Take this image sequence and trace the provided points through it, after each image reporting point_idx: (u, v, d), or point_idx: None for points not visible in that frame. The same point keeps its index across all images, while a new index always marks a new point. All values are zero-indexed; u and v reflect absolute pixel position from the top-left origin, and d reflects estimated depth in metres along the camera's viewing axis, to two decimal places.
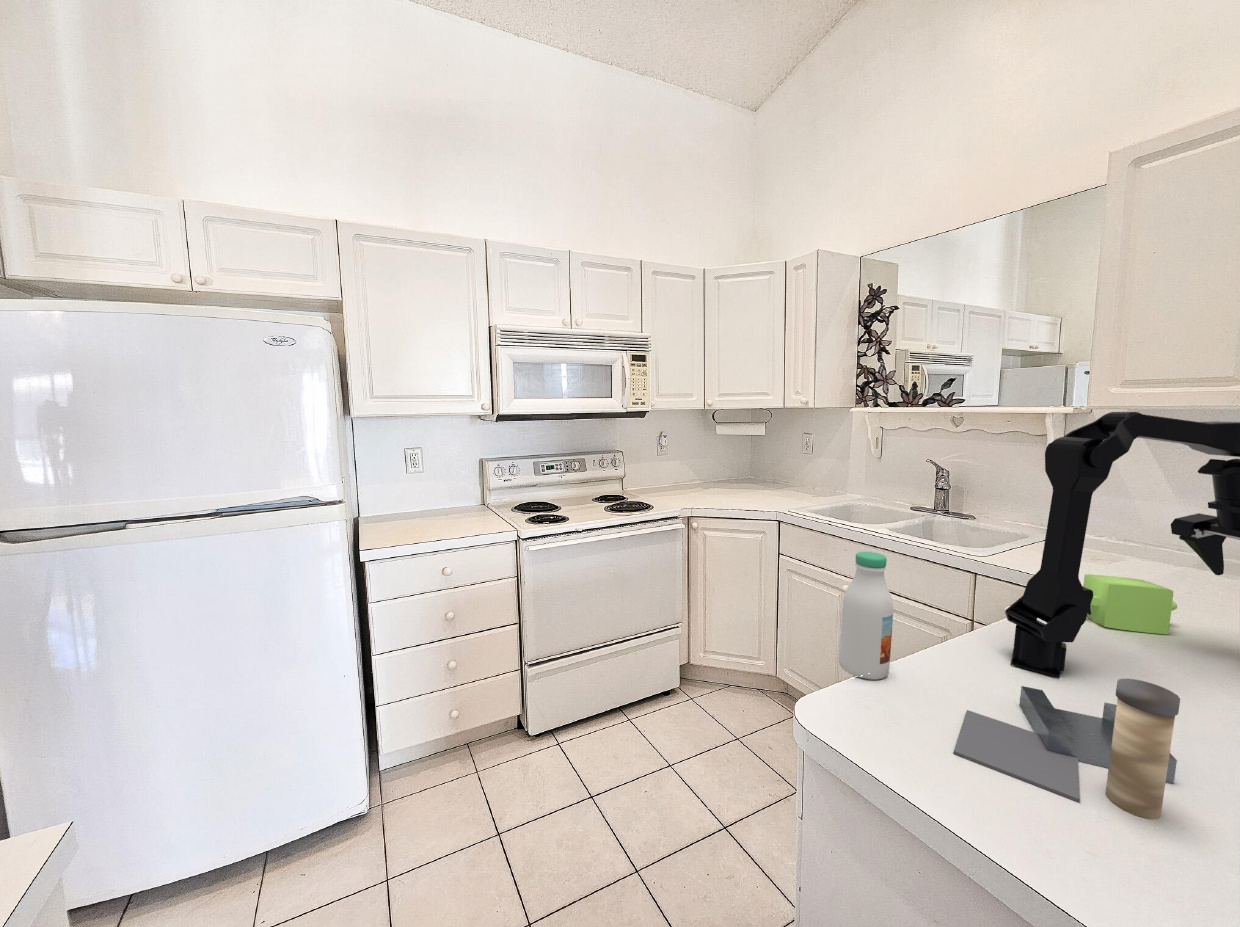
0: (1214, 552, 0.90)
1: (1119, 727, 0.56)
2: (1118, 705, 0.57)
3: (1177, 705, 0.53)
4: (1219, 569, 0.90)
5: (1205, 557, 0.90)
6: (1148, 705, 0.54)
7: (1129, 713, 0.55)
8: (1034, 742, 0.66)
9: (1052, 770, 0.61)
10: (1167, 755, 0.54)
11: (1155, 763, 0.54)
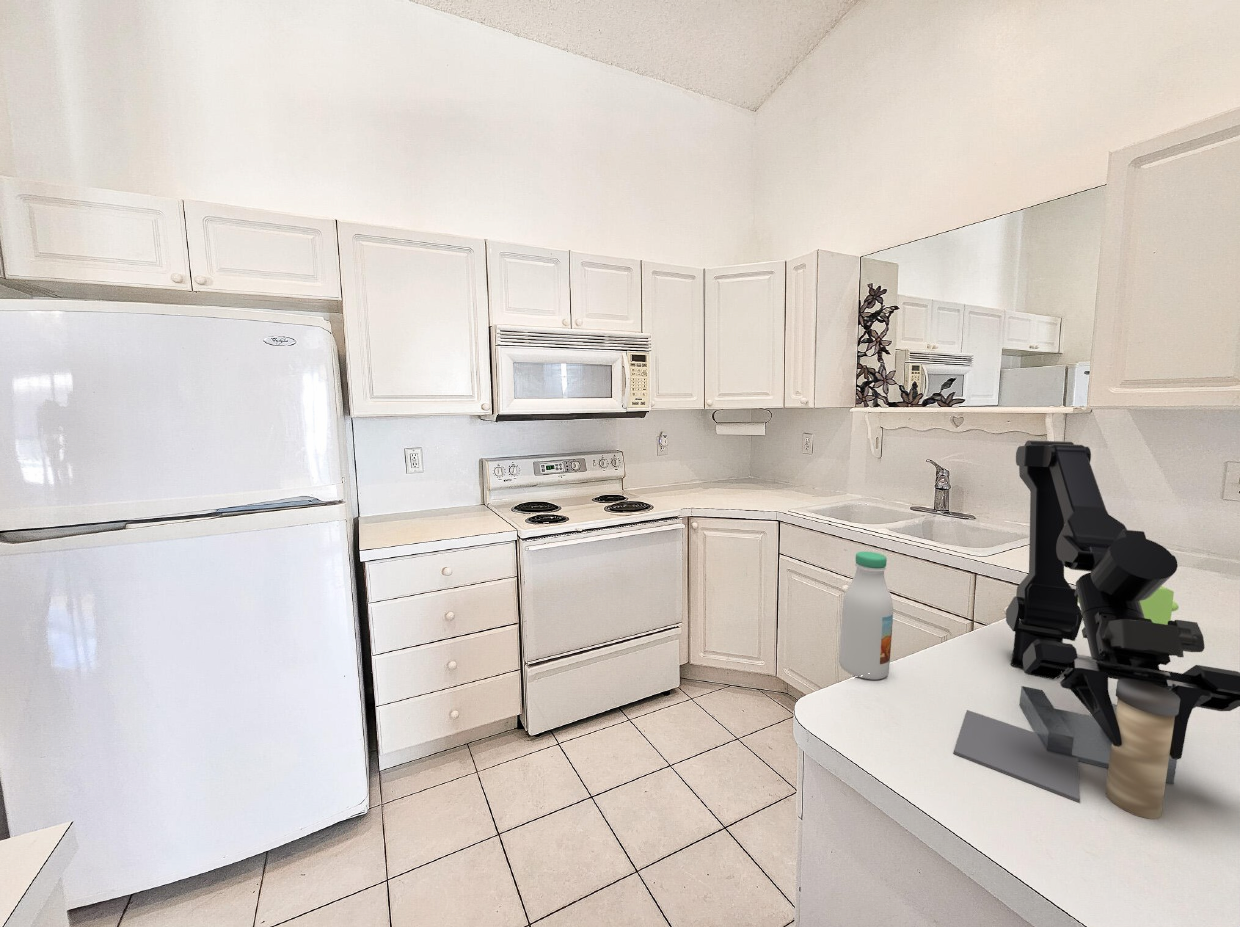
0: None
1: (1119, 727, 0.56)
2: (1118, 705, 0.57)
3: (1177, 705, 0.53)
4: None
5: None
6: (1148, 705, 0.54)
7: (1129, 713, 0.55)
8: (1034, 742, 0.66)
9: (1052, 770, 0.61)
10: (1167, 755, 0.54)
11: (1155, 763, 0.54)
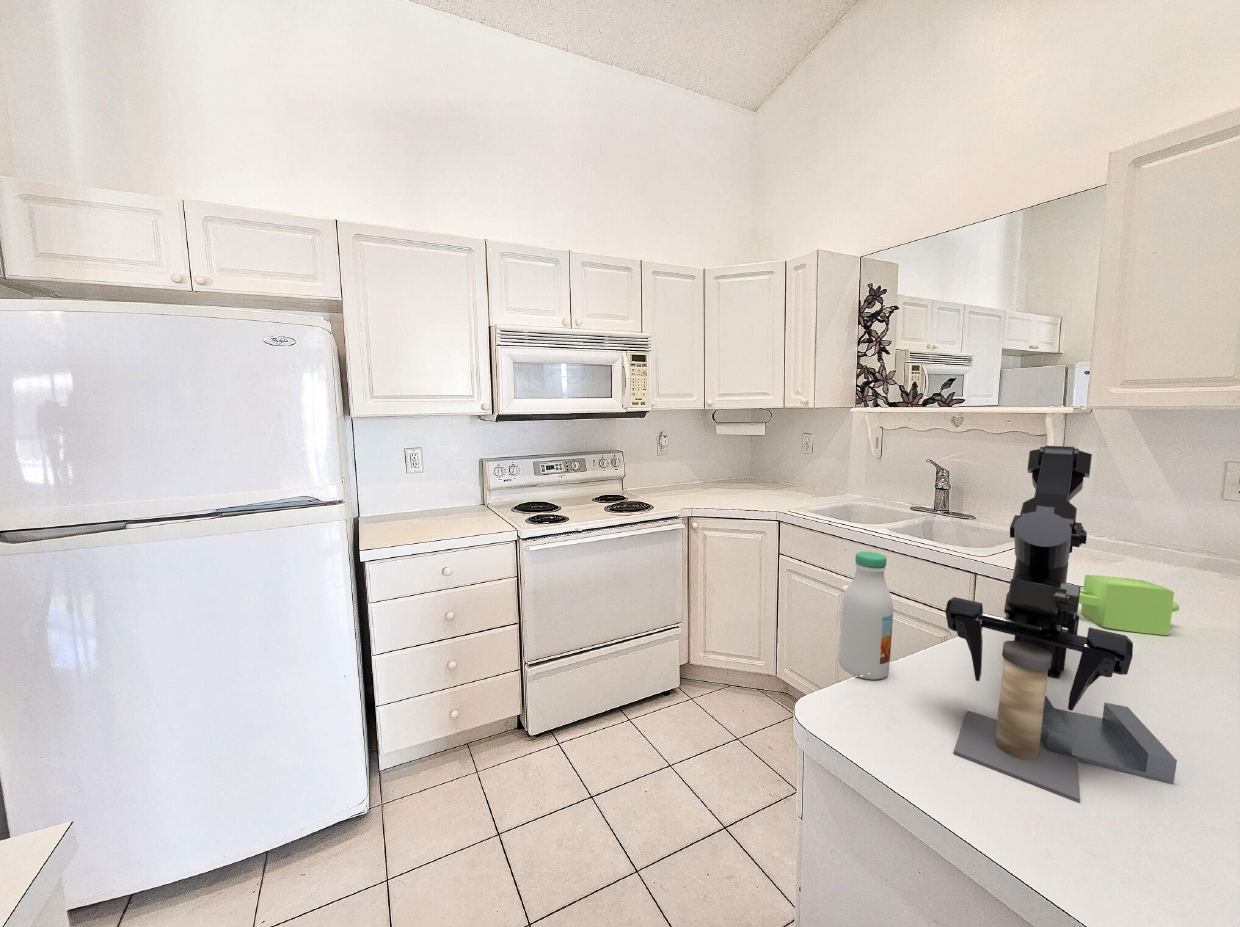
0: None
1: (1002, 679, 0.65)
2: (1003, 662, 0.65)
3: (1043, 661, 0.61)
4: (1069, 699, 0.61)
5: None
6: (1016, 658, 0.63)
7: (1006, 666, 0.64)
8: None
9: (1052, 770, 0.61)
10: (1036, 705, 0.62)
11: (1024, 710, 0.63)
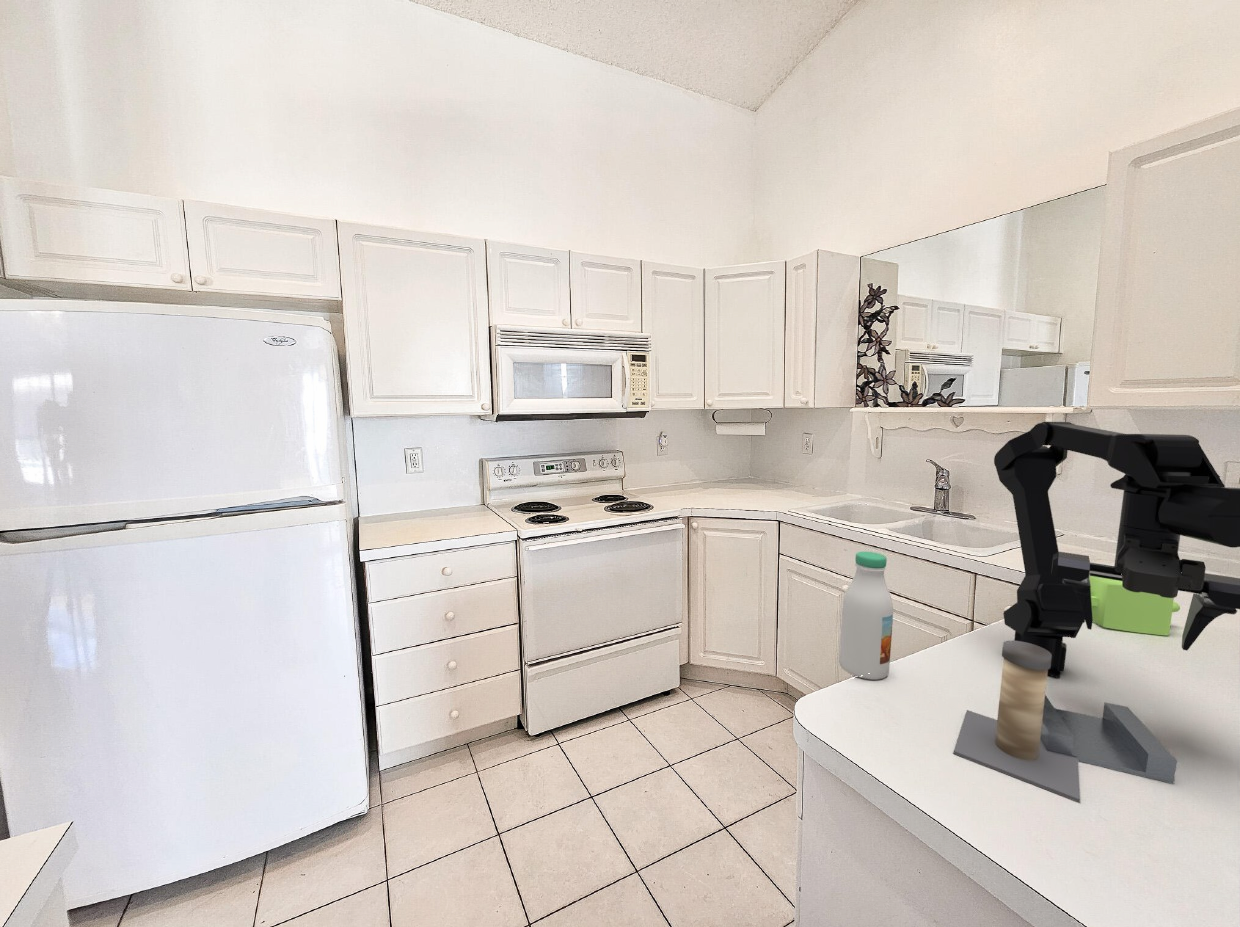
0: (1190, 618, 0.66)
1: (1001, 679, 0.65)
2: (1003, 661, 0.66)
3: (1043, 661, 0.61)
4: (1183, 640, 0.66)
5: None
6: (1016, 658, 0.63)
7: (1006, 666, 0.64)
8: None
9: (1052, 770, 0.61)
10: (1036, 705, 0.62)
11: (1024, 710, 0.63)
